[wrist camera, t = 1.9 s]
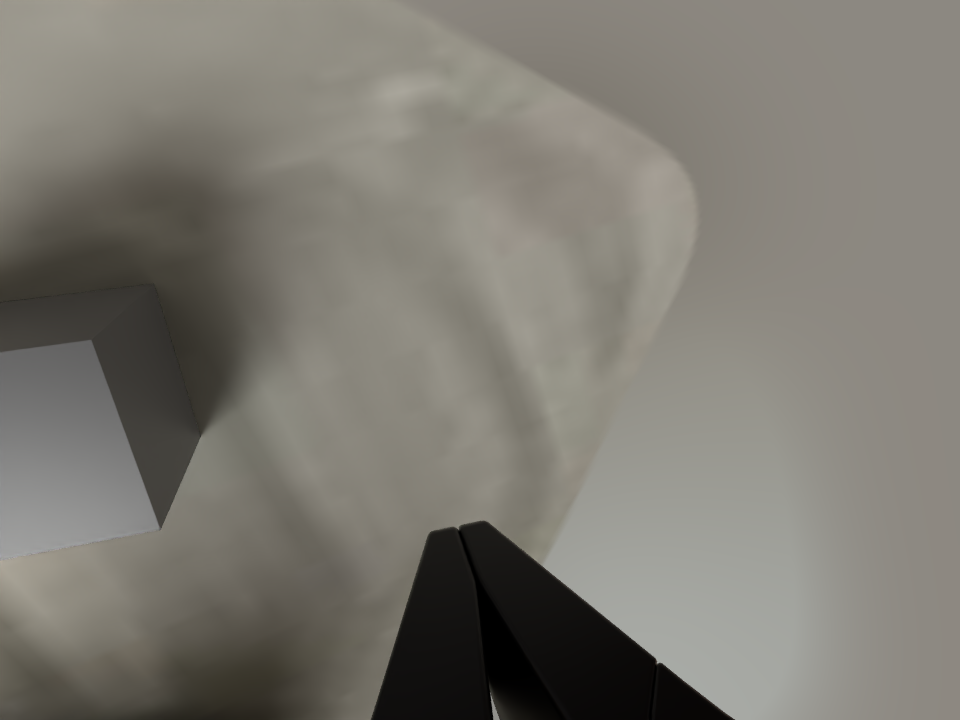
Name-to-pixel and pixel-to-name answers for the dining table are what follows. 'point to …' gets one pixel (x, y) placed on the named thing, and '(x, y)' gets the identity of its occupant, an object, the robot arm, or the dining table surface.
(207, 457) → the dining table surface
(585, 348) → the dining table surface
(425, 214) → the dining table surface
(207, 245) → the dining table surface
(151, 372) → the plug
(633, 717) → the robot arm
